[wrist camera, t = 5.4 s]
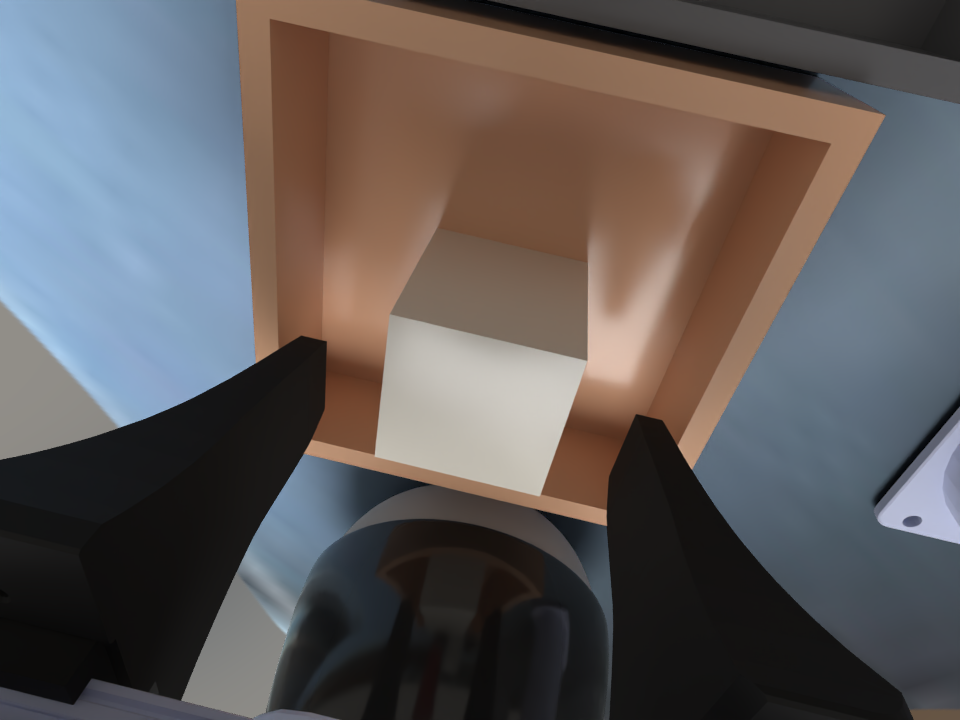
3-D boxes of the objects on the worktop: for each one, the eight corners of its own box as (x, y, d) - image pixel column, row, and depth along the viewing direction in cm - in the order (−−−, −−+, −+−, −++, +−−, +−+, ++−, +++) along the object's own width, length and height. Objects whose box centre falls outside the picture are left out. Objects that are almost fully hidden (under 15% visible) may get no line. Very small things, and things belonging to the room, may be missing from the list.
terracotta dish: (818, 77, 13) (885, 114, 10) (645, 448, 19) (654, 537, 16) (313, -34, 13) (234, -29, 10) (309, 369, 20) (260, 443, 17)
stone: (588, 262, 15) (587, 361, 12) (550, 383, 18) (539, 496, 14) (437, 227, 15) (389, 314, 12) (419, 351, 18) (374, 456, 14)
